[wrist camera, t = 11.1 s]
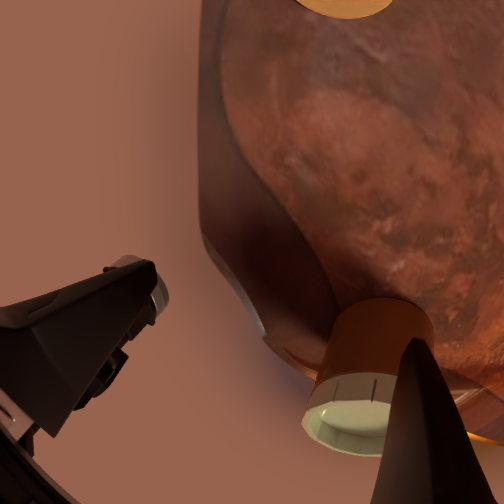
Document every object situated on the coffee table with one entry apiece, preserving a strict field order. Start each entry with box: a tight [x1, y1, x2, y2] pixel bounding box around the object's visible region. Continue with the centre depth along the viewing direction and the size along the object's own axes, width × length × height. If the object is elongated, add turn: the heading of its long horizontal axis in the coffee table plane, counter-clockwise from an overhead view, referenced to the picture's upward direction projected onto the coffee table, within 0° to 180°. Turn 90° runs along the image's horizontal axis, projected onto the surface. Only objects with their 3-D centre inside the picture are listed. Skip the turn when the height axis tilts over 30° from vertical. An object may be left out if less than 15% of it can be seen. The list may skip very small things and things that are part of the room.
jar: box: [301, 298, 434, 456], centre depth 20 cm, size 9×9×9 cm
